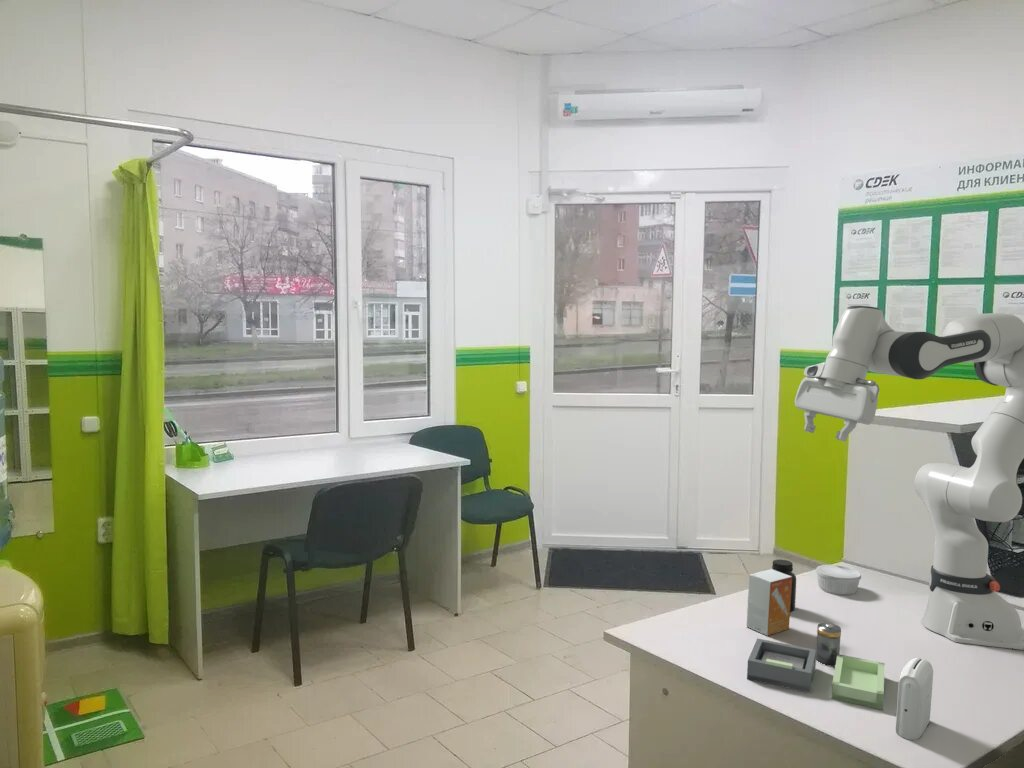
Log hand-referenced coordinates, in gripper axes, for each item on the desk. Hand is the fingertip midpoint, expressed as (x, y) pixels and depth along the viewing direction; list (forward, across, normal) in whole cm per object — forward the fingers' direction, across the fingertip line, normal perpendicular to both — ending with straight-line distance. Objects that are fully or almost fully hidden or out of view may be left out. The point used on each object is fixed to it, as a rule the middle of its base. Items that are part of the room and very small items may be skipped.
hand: (824, 436), depth 171 cm
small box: (+47, +9, -11) cm, 49 cm away
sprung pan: (+48, -11, +3) cm, 50 cm away
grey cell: (+46, -9, -11) cm, 48 cm away
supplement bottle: (+44, +18, -22) cm, 53 cm away
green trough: (+47, -21, -8) cm, 52 cm away
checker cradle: (+50, -11, +2) cm, 51 cm away
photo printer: (+47, -36, -5) cm, 59 cm away
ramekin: (+38, +24, -46) cm, 64 cm away
